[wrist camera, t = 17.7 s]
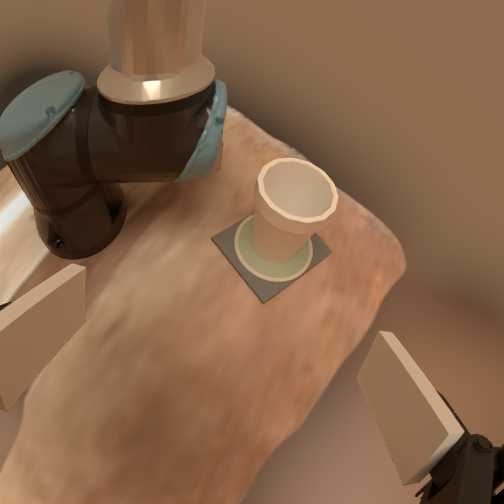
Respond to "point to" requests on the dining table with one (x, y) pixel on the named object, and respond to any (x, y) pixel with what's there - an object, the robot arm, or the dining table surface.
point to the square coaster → (264, 273)
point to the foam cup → (289, 207)
